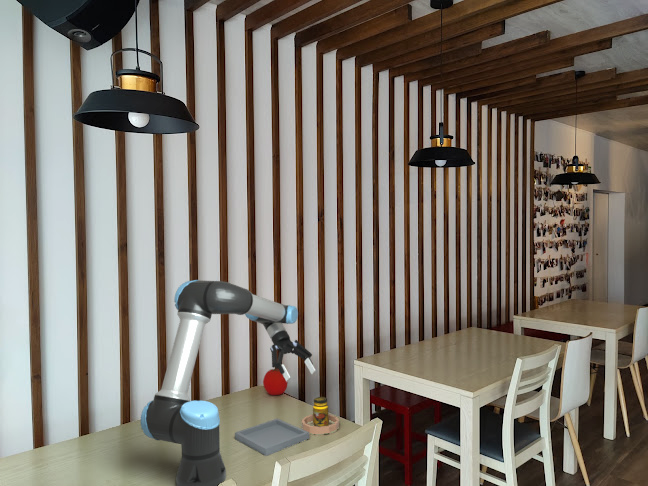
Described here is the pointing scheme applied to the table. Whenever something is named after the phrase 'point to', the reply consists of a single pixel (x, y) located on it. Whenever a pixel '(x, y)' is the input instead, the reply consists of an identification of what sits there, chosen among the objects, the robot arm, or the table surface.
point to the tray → (271, 436)
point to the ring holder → (319, 429)
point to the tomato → (274, 382)
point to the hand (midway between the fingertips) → (301, 376)
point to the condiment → (320, 412)
